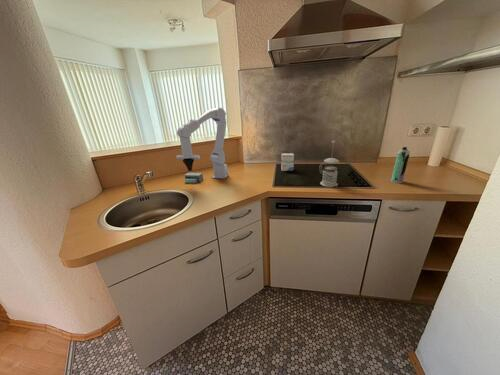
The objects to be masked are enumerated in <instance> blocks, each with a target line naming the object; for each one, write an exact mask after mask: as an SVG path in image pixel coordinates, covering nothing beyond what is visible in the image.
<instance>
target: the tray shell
mask: <svg viewBox="0 0 500 375" xmlns="http://www.w3.org/2000/svg"><path fill="white" fill-rule="evenodd" d="M184 182H185V184H197V183H199V179H198V177H188V178H186V179H185V178H184Z"/></svg>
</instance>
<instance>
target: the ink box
mask: <svg viewBox="0 0 500 375" xmlns="http://www.w3.org/2000/svg"><path fill="white" fill-rule="evenodd" d="M280 157H281V158H280V159H281V160H280V162H281V165H280V168H281V170H280V171H281V172H286V171H287V172H290V171H292V172H293V171H294V165H295V164H294V160H295V154H294V153H281V156H280Z"/></svg>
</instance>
